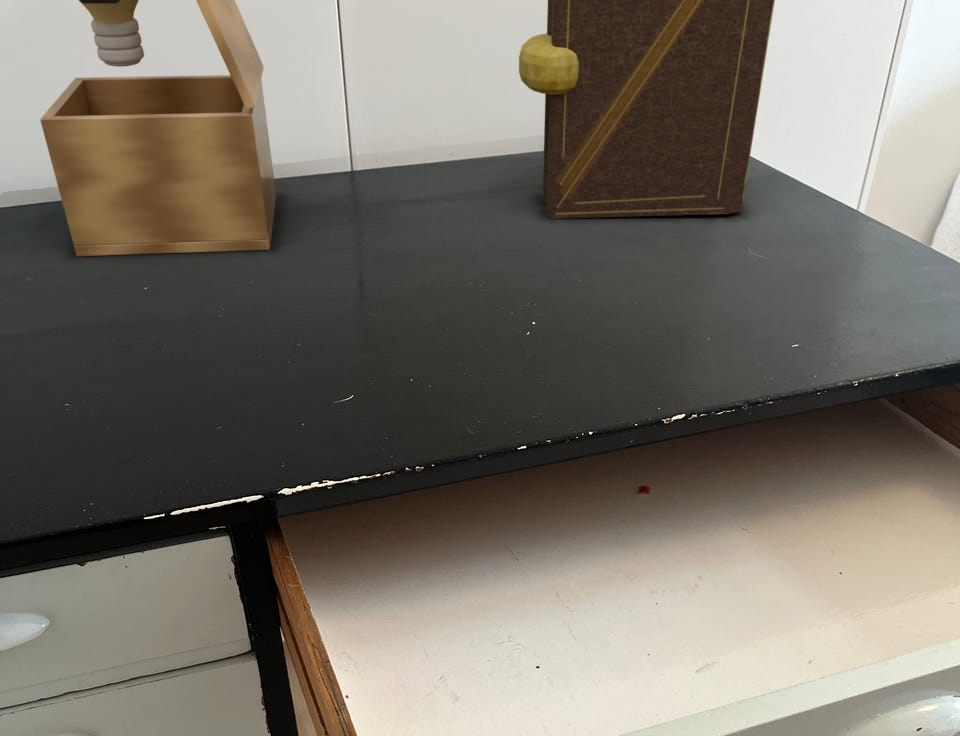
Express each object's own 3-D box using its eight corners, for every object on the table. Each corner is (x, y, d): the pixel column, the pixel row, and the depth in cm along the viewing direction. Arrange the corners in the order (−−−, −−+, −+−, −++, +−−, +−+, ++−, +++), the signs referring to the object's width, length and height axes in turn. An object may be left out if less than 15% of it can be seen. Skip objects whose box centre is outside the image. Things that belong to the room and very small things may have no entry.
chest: (76, 256, 84) (39, 119, 77) (105, 202, 95) (75, 77, 88) (270, 249, 86) (251, 114, 79) (276, 197, 97) (260, 74, 90)
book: (729, 189, 99) (775, -121, 82) (749, 216, 92) (803, -113, 76) (515, 194, 98) (517, -115, 82) (520, 223, 92) (524, -107, 75)
